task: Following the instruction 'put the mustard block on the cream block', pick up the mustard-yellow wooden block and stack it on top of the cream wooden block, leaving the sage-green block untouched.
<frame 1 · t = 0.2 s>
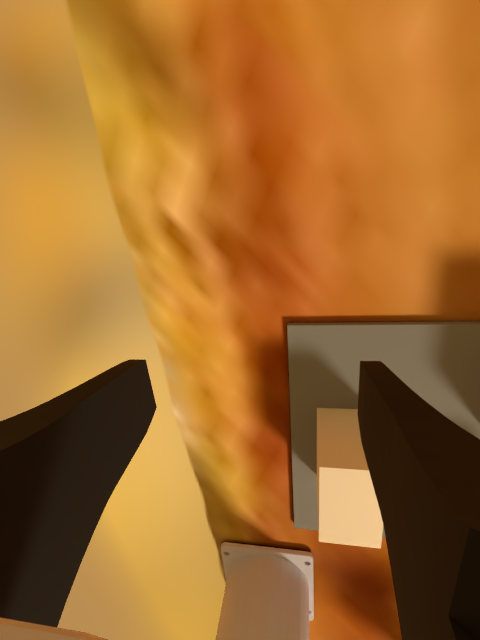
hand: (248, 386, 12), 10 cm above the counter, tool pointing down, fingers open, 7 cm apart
rubber mat: (427, 444, 23), on the counter
cream block: (342, 444, 24), resting on rubber mat
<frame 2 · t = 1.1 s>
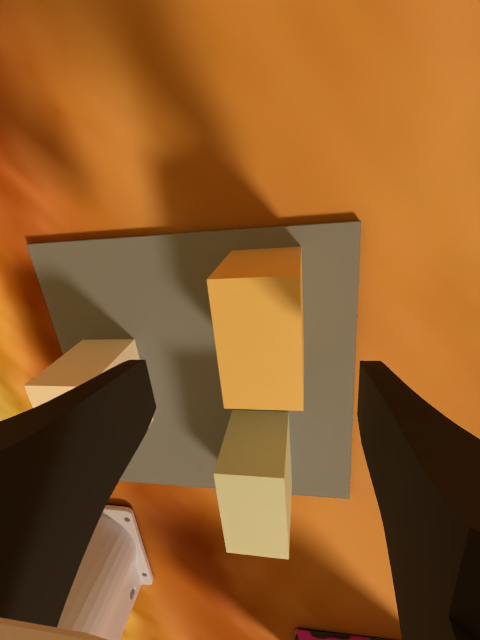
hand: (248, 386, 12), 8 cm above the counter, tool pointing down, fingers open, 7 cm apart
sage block: (263, 448, 23), resting on rubber mat
mustard block: (269, 304, 18), resting on rubber mat
rubber mat: (203, 378, 22), on the counter
cream block: (119, 381, 22), resting on rubber mat
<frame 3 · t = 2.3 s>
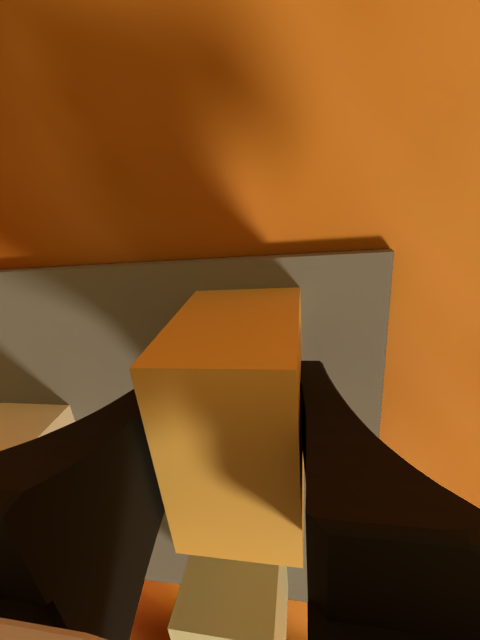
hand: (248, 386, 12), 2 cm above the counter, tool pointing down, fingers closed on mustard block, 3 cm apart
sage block: (249, 545, 17), resting on rubber mat
mustard block: (253, 367, 13), resting on rubber mat, touching gripper
rubber mat: (166, 455, 16), on the counter
cream block: (55, 455, 17), resting on rubber mat
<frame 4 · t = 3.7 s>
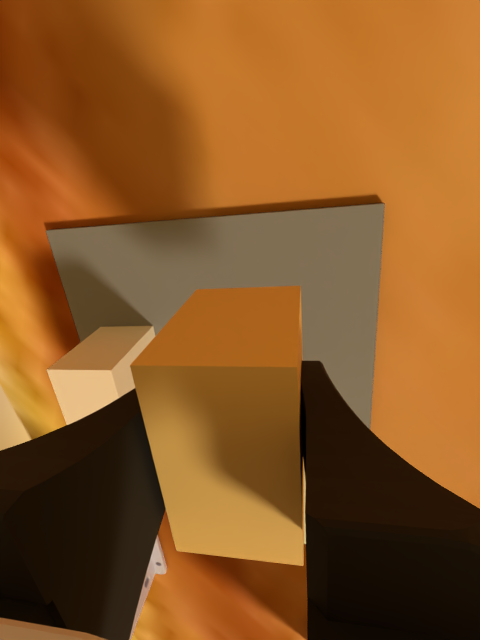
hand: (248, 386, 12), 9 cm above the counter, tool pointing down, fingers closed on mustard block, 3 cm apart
mustard block: (254, 365, 13), point 7 cm above the counter, touching gripper
rubber mat: (220, 365, 22), on the counter
cream block: (136, 368, 22), resting on rubber mat
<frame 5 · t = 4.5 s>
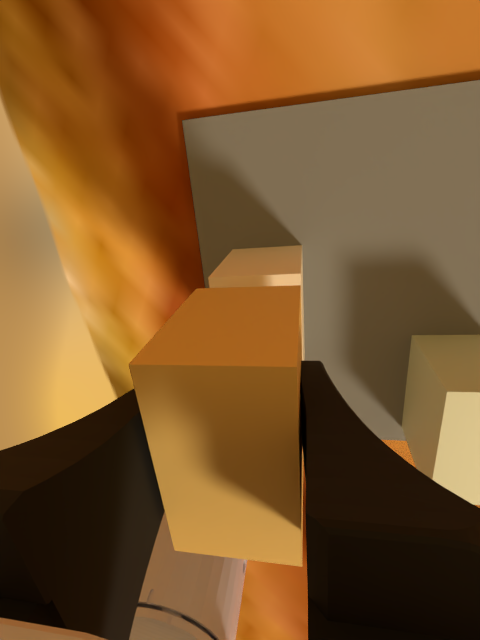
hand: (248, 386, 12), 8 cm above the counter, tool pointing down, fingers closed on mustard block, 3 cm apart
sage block: (440, 384, 19), resting on rubber mat
mustard block: (253, 365, 13), point 7 cm above the counter, touching gripper
rubber mat: (377, 297, 18), on the counter
cream block: (270, 302, 19), resting on rubber mat
when the fingers open (8 cm above the counter, at t = 5.0 s): mustard block stays where it is, resting on cream block.
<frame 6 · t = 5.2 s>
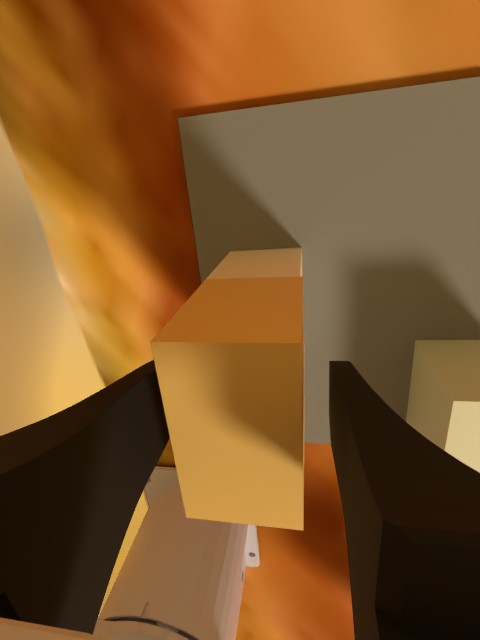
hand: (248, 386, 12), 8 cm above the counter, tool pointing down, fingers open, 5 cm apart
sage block: (445, 390, 18), resting on rubber mat
mustard block: (258, 351, 14), point 5 cm above the counter, touching cream block
rubber mat: (379, 301, 17), on the counter
cream block: (269, 306, 18), resting on rubber mat, touching mustard block
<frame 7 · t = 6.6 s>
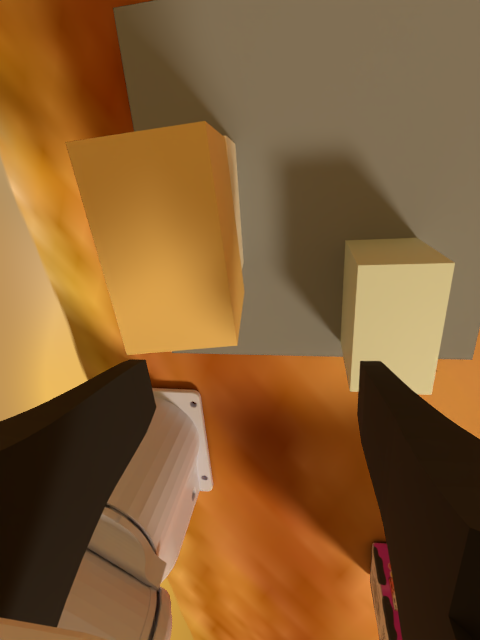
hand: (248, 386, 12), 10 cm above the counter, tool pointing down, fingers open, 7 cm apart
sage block: (375, 293, 19), resting on rubber mat
mustard block: (193, 226, 14), point 6 cm above the counter, tilted 7°, touching cream block
candy bar box: (443, 563, 28), on the counter
rubber mat: (311, 201, 18), on the counter
cream block: (207, 209, 19), point 1 cm above the counter, tilted 7°, touching mustard block, rubber mat
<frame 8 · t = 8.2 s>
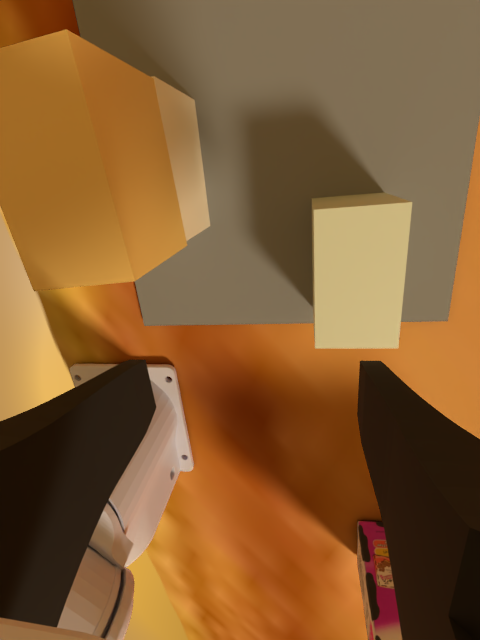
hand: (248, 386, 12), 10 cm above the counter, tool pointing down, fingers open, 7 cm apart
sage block: (345, 254, 19), resting on rubber mat
mustard block: (131, 176, 14), point 5 cm above the counter, touching cream block
candy bar box: (431, 542, 27), on the counter
rubber mat: (275, 159, 18), on the counter
cream block: (171, 170, 18), resting on rubber mat, touching mustard block
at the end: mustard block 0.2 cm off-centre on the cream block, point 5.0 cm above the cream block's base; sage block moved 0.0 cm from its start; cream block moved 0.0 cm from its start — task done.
